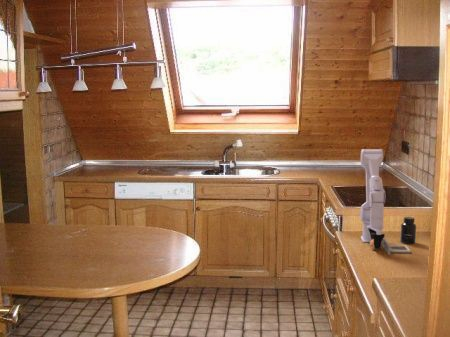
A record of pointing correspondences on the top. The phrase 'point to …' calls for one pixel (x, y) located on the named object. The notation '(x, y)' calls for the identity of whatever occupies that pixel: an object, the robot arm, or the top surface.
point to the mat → (400, 249)
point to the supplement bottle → (408, 231)
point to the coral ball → (373, 244)
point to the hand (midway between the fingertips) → (375, 246)
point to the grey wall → (386, 246)
